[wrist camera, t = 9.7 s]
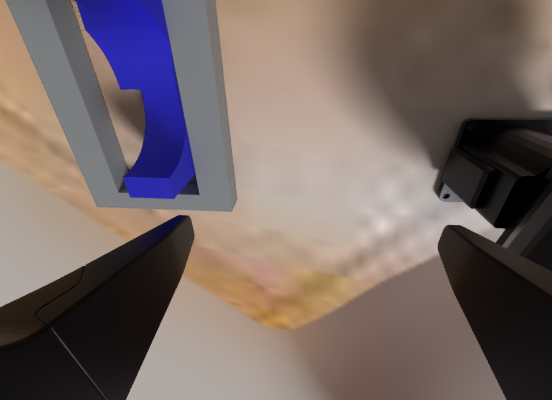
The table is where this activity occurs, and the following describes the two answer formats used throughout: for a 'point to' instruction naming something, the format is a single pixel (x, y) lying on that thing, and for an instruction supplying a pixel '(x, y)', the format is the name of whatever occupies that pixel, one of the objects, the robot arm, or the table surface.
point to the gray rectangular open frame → (94, 115)
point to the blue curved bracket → (145, 89)
